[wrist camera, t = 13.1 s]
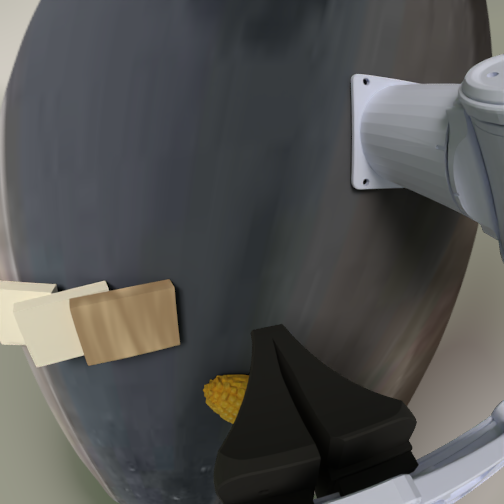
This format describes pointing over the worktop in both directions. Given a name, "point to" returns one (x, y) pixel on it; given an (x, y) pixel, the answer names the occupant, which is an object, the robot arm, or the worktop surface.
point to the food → (226, 395)
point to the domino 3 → (126, 321)
